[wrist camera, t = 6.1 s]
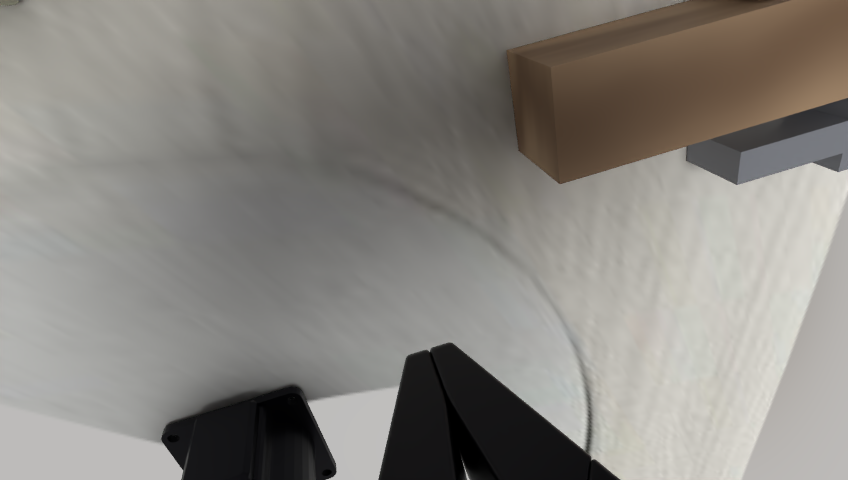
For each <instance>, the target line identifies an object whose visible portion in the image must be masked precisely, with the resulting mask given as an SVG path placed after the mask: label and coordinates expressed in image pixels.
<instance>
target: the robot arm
mask: <svg viewBox="0 0 848 480" xmlns="http://www.w3.org/2000/svg"><path fill="white" fill-rule="evenodd" d="M289 397H295V398H294V399H289ZM173 434H175V435H173ZM161 439H162V442H163V443H164V445H165V446H166V447H167V449H168V450H169V452H170V453H171V454H172V456H173V457H174V458H175V460H176V461H177V463H178V464H179V465H180V467H181V468H182V469H183V475H182V479H181V480H326V479H329V478H331V477H333V476H334V475H335V474H336V463H335V461H334V459H333V456H332V454H331V452H330V450H329V448H328V446H327V444H326V441H325V439H324V437H323V435H322V433H321V431H320V429H319V427H318V424H317V422H316V420H315V418H314V416H313V414H312V412H311V410H310V407H309V405H308V403H307V401H306V399H305V397H304V395H303V393H302V391H301V390H300V389H299V388H297V387H288V388H285V389H282V390H279V391H275V392H272V393H269V394H266V395H263V396H259V397H256V398H253V399H250V400H247V401H243V402H240V403H237V404H234V405H231V406H227V407H224V408H221V409H218V410H215V411H212V412H208V413H205V414H202V415H199V416H196V417H192V418H189V419H186V420H183V421H180V422H176V423H173V424H170V425H168V426H166V427H165V428H164V431H163V434H162V438H161ZM463 463H464V465H463ZM464 466H465V469H466V472H467V474H468V476H469V479H470V480H620V479H619V478H617V477H616V476H615V475H614V474H612V473H611V472H610V471H609V470H608V469H606V468H605V467H604V466H603V465H601V464H600V463H599V462H598V461H597V460H595V459H593V460H592V459H591V456H590V455H589V454H588V453H586V452H585V451H584V450H583V449H582V448H580V447H579V446H578V445H577V444H575V443H574V442H573V441H572V440H571V439H569V438H568V437H567V436H566V435H564V434H563V433H562V432H561V431H560V430H558V429H557V428H556V427H555V426H553V425H552V424H551V423H550V422H549V421H547V420H546V419H545V418H544V417H542V416H541V415H540V414H539V413H538V412H536V411H535V410H534V409H533V408H531V407H530V406H529V405H528V404H527V403H525V402H524V401H523V400H522V399H520V398H519V397H518V396H517V395H516V394H514V393H513V392H512V391H511V390H509V389H508V388H507V387H506V386H505V385H503V384H502V383H501V382H500V381H498V380H497V379H496V378H495V377H494V376H492V375H491V374H490V373H489V372H487V371H486V370H485V369H484V368H483V367H481V366H480V365H479V364H478V363H476V362H475V361H474V360H473V359H472V358H470V357H469V356H468V355H467V354H465V353H464V352H463V351H462V350H461V349H459V348H458V347H457V346H456V345H454V344H453V343H446V344H442V345H439V346H436V347H433V348H431V350H430V352H429V351H428V350H423V351H420V352H417V353H414V354H410V355H408V356H407V358H406V360H405V364H404V369H403V373H402V378H401V382H400V386H399V391H398V395H397V400H396V405H395V409H394V413H393V417H392V422H391V427H390V431H389V435H388V440H387V444H386V448H385V453H384V458H383V462H382V466H381V471H380V475H379V480H467V478H466V473H465V469H464Z"/></svg>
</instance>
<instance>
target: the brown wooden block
mask: <svg viewBox="0 0 848 480" xmlns="http://www.w3.org/2000/svg"><path fill="white" fill-rule="evenodd" d="M507 58H508V66H509V75H510V83H511V91H512V99H513V107H514V116H515V124H516V132H517V140H518V149H519V151H520V152H521V153H522V154H523V155H525V156H526V157H527V158H528V159H530V160H531V161H532V162H533V163H535V164H536V165H537V166H538V167H539V168H541V169H542V170H543V171H544V172H546V173H547V174H548V175H549V176H550V177H552V178H553V179H554V180H555V181H557V182H558V183H559V184H562V183H566V182H569V181H572V180H576V179H579V178H582V177H586V176H589V175H592V174H596V173H599V172H602V171H606V170H609V169H612V168H616V167H619V166H622V165H626V164H629V163H632V162H636V161H639V160H642V159H646V158H649V157H652V156H656V155H659V154H662V153H666V152H669V151H672V150H676V149H679V148H682V147H686V146H689V145H692V144H696V143H699V142H702V141H706V140H709V139H712V138H716V137H719V136H722V135H726V134H729V133H732V132H736V131H739V130H742V129H746V128H749V127H752V126H756V125H759V124H762V123H766V122H769V121H772V120H776V119H779V118H782V117H785V116H789V115H792V114H795V113H799V112H802V111H805V110H809V109H812V108H815V107H819V106H822V105H825V104H829V103H832V102H835V101H839V100H842V99H845V98H848V0H689V1H686V2H682V3H678V4H675V5H671V6H667V7H664V8H660V9H656V10H653V11H649V12H645V13H642V14H638V15H634V16H631V17H627V18H623V19H620V20H616V21H612V22H609V23H605V24H601V25H598V26H594V27H590V28H587V29H583V30H579V31H576V32H572V33H568V34H565V35H561V36H557V37H554V38H550V39H546V40H543V41H539V42H535V43H532V44H528V45H524V46H521V47H517V48H513V49H510V50H507Z"/></svg>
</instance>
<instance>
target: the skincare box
mask: <svg viewBox="0 0 848 480" xmlns="http://www.w3.org/2000/svg"><path fill="white" fill-rule="evenodd" d="M18 2H19V0H0V6H8V5H16V4H17V3H18Z"/></svg>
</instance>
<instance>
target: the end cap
mask: <svg viewBox="0 0 848 480" xmlns="http://www.w3.org/2000/svg"><path fill="white" fill-rule="evenodd" d="M687 161H689V162H691V163H693V164H695V165H697V166H699V167H701V168H703V169H705V170H707V171H709V172H711V173H713V174H715V175H718V176H720V177H722V178H724V179H726V180H728V181H730V182H732V183H734V184H736V185H738V184H742V183H745V182H748V181H752V180H755V179H758V178H762V177H765V176H768V175H772V174H775V173H778V172H782V171H785V170H788V169H792V168H795V167H798V166H802V165H805V164H808V163H812V162H813V163H815V164H818V165H821V166H823V167H826V168H829V169H831V170H834V171H837V172H840V171H843V170H847V169H848V98H845V99H842V100H839V101H835V102H832V103H829V104H825V105H822V106H819V107H815V108H812V109H809V110H805V111H802V112H799V113H795V114H792V115H789V116H785V117H782V118H779V119H776V120H772V121H769V122H766V123H762V124H759V125H756V126H752V127H749V128H746V129H742V130H739V131H736V132H732V133H729V134H726V135H722V136H719V137H716V138H712V139H709V140H706V141H702V142H699V143H696V144H692V145H689V146H688V147H687Z"/></svg>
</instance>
